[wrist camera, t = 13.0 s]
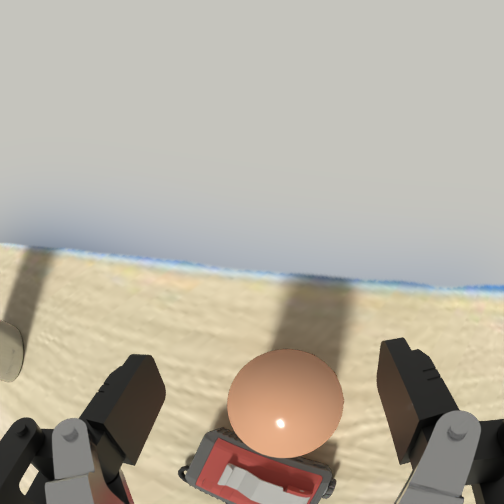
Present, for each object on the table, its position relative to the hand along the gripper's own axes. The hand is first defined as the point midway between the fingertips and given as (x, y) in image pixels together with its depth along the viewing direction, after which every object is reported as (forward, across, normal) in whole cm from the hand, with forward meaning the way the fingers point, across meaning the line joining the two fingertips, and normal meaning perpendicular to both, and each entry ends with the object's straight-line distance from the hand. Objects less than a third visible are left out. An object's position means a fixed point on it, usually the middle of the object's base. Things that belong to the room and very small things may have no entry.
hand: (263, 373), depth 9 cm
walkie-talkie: (+4, 0, +20) cm, 21 cm away
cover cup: (+11, 0, +13) cm, 17 cm away
